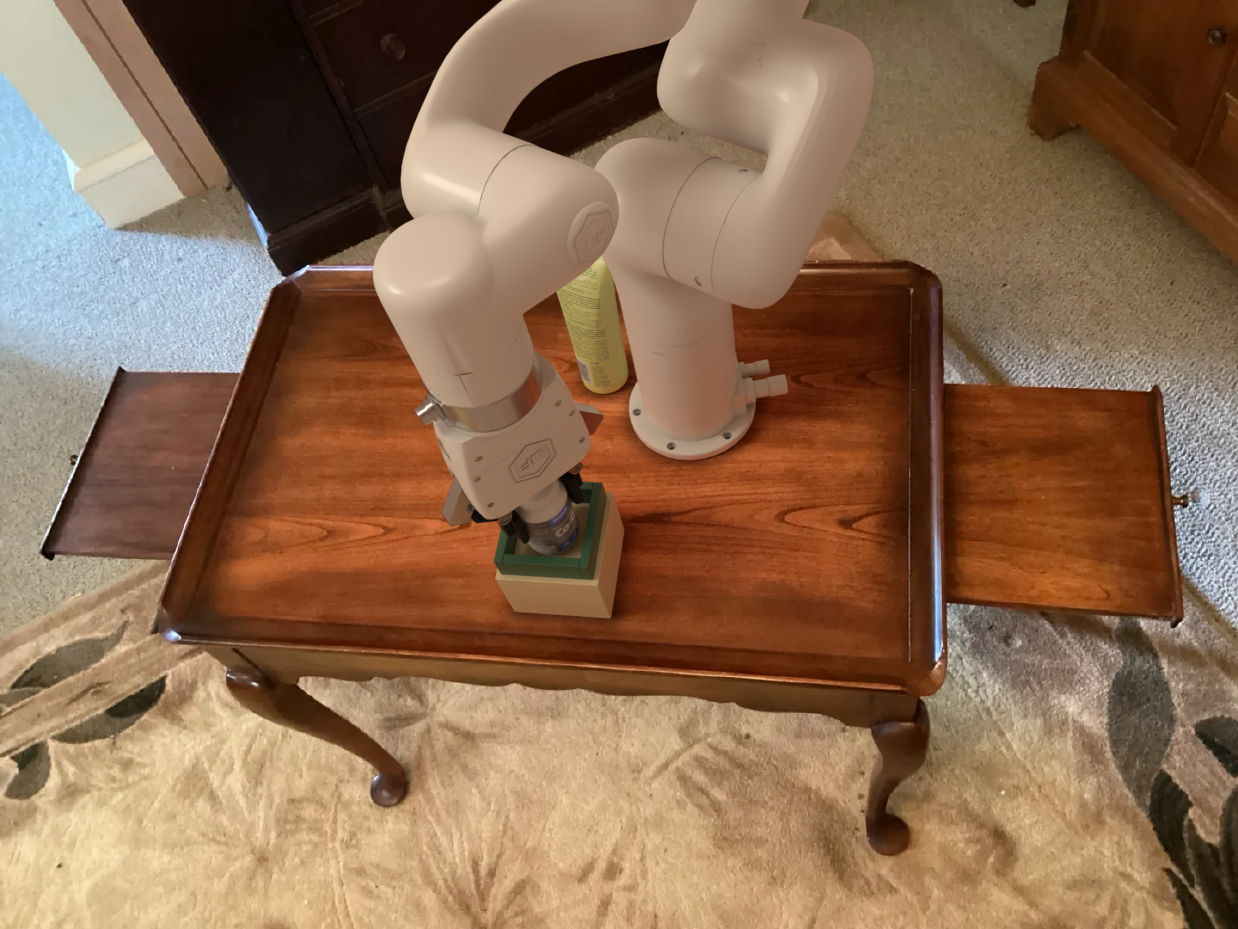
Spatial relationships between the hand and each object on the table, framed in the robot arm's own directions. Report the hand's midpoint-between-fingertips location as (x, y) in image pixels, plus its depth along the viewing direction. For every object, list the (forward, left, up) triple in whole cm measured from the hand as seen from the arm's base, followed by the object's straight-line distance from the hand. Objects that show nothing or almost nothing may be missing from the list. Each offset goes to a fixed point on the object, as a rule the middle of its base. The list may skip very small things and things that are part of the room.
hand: (544, 510), depth 80 cm
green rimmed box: (0, 0, -11) cm, 11 cm away
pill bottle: (0, 0, -4) cm, 4 cm away
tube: (-6, -22, -11) cm, 25 cm away
